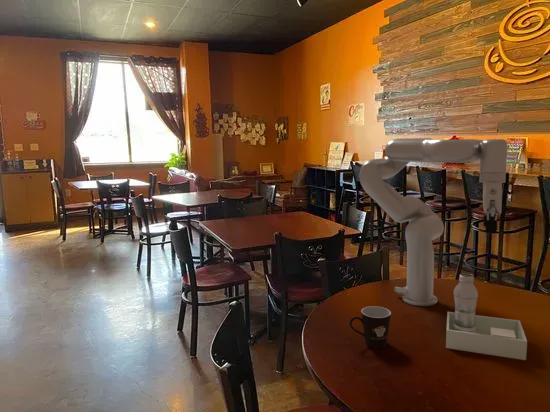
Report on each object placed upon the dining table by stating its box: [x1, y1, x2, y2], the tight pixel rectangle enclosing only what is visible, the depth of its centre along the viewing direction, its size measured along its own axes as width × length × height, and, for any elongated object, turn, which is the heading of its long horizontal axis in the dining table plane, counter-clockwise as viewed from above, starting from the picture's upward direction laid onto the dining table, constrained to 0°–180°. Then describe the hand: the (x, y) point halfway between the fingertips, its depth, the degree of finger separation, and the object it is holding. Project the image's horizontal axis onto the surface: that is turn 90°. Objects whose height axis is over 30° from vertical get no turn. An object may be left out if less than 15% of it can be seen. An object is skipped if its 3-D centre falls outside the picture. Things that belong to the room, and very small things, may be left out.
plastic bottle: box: [452, 272, 479, 333], centre depth 123 cm, size 6×7×20 cm
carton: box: [490, 327, 516, 339], centre depth 120 cm, size 6×5×4 cm
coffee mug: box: [349, 305, 392, 349], centre depth 125 cm, size 12×9×10 cm
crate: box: [445, 311, 528, 361], centre depth 122 cm, size 20×14×6 cm
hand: (489, 229), depth 137 cm, fingers open, 9 cm apart
